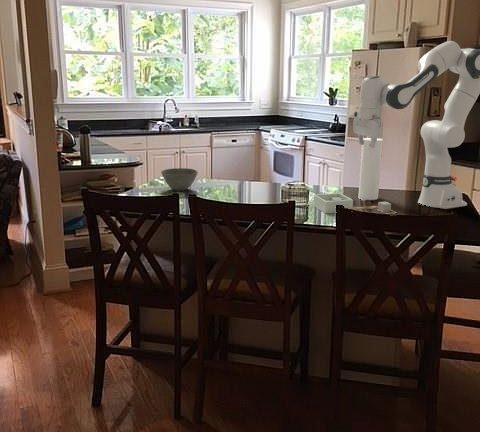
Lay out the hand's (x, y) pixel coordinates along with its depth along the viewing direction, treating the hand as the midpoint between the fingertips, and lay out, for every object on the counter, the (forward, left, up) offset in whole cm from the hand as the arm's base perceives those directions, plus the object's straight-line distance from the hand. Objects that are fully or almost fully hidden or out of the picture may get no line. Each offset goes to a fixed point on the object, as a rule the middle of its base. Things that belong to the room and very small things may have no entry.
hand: (366, 146), depth 230 cm
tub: (+14, -1, -29) cm, 32 cm away
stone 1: (+11, -4, -28) cm, 31 cm away
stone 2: (-6, +9, -28) cm, 30 cm away
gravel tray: (-1, +9, -29) cm, 30 cm away
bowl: (+75, -56, -29) cm, 98 cm away
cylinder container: (-12, -16, -29) cm, 35 cm away
